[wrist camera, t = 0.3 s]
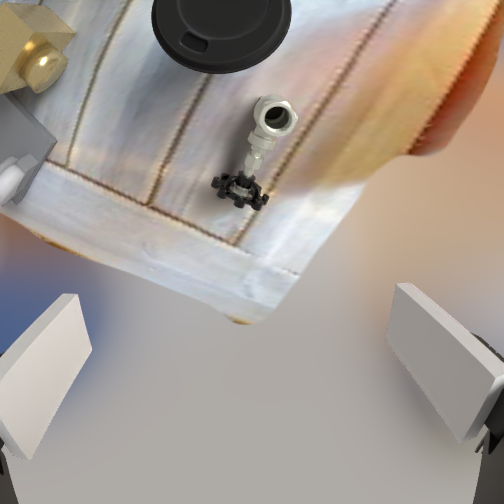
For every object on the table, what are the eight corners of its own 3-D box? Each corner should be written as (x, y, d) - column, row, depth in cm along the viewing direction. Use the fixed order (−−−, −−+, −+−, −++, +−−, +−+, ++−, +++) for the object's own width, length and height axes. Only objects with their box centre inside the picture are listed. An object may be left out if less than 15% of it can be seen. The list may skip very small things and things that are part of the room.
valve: (251, 81, 30) (213, 174, 37) (253, 86, 25) (207, 197, 31) (305, 104, 32) (264, 192, 38) (319, 114, 27) (268, 218, 33)
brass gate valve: (35, -4, 20) (-8, -8, 13) (90, 46, 26) (50, 47, 19) (2, 44, 23) (-43, 52, 16) (52, 96, 29) (9, 111, 22)
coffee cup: (181, 69, 29) (140, 76, 17) (188, -8, 24) (151, -50, 11) (269, 73, 30) (288, 80, 17) (277, -5, 24) (301, -47, 12)
